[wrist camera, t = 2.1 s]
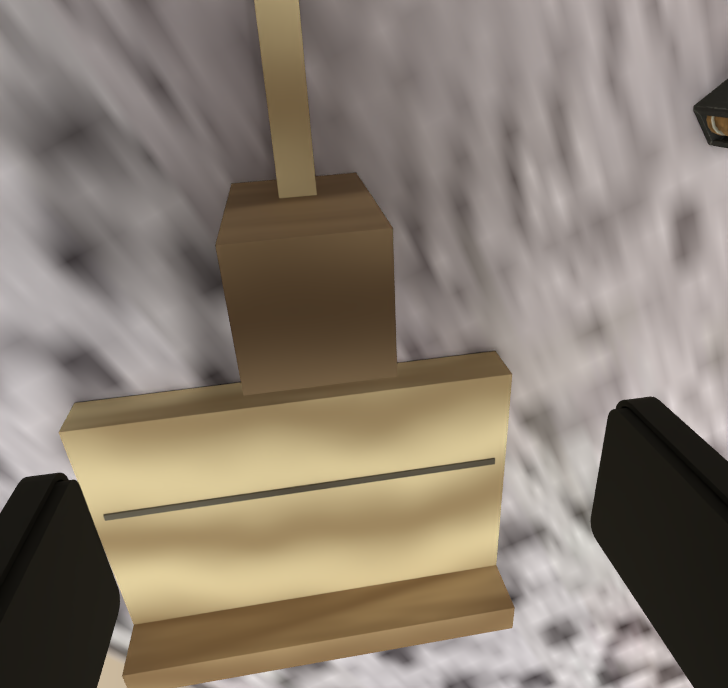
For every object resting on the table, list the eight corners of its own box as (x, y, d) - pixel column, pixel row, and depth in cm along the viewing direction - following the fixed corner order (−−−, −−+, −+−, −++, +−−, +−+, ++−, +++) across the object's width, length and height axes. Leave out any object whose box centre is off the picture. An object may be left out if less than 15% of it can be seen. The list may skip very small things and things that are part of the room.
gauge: (192, -55, 17) (148, -110, 11) (342, -61, 17) (382, -118, 11) (250, 298, 22) (243, 395, 16) (362, 286, 23) (397, 376, 17)
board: (74, 402, 23) (34, 476, 19) (495, 350, 25) (536, 408, 21) (149, 608, 29) (130, 695, 26) (481, 554, 31) (512, 628, 27)
